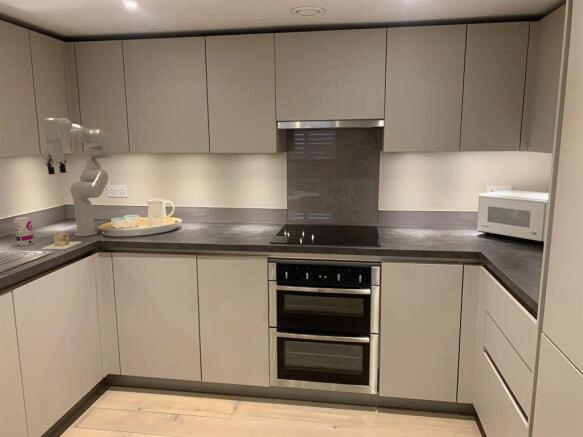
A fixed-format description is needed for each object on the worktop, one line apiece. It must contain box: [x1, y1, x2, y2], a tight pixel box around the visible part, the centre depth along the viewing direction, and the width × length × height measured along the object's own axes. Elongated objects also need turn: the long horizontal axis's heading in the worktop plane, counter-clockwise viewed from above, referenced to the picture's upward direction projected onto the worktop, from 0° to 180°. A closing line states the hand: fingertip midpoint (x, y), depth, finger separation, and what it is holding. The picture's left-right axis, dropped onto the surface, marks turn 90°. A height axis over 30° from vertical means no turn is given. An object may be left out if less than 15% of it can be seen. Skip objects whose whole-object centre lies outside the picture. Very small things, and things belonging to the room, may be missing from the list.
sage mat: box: [40, 241, 83, 250], centre depth 242 cm, size 16×14×1 cm
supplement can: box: [13, 216, 35, 247], centre depth 245 cm, size 8×8×15 cm
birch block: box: [53, 232, 70, 246], centre depth 241 cm, size 5×5×6 cm
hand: (57, 173), depth 243 cm, fingers open, 9 cm apart
